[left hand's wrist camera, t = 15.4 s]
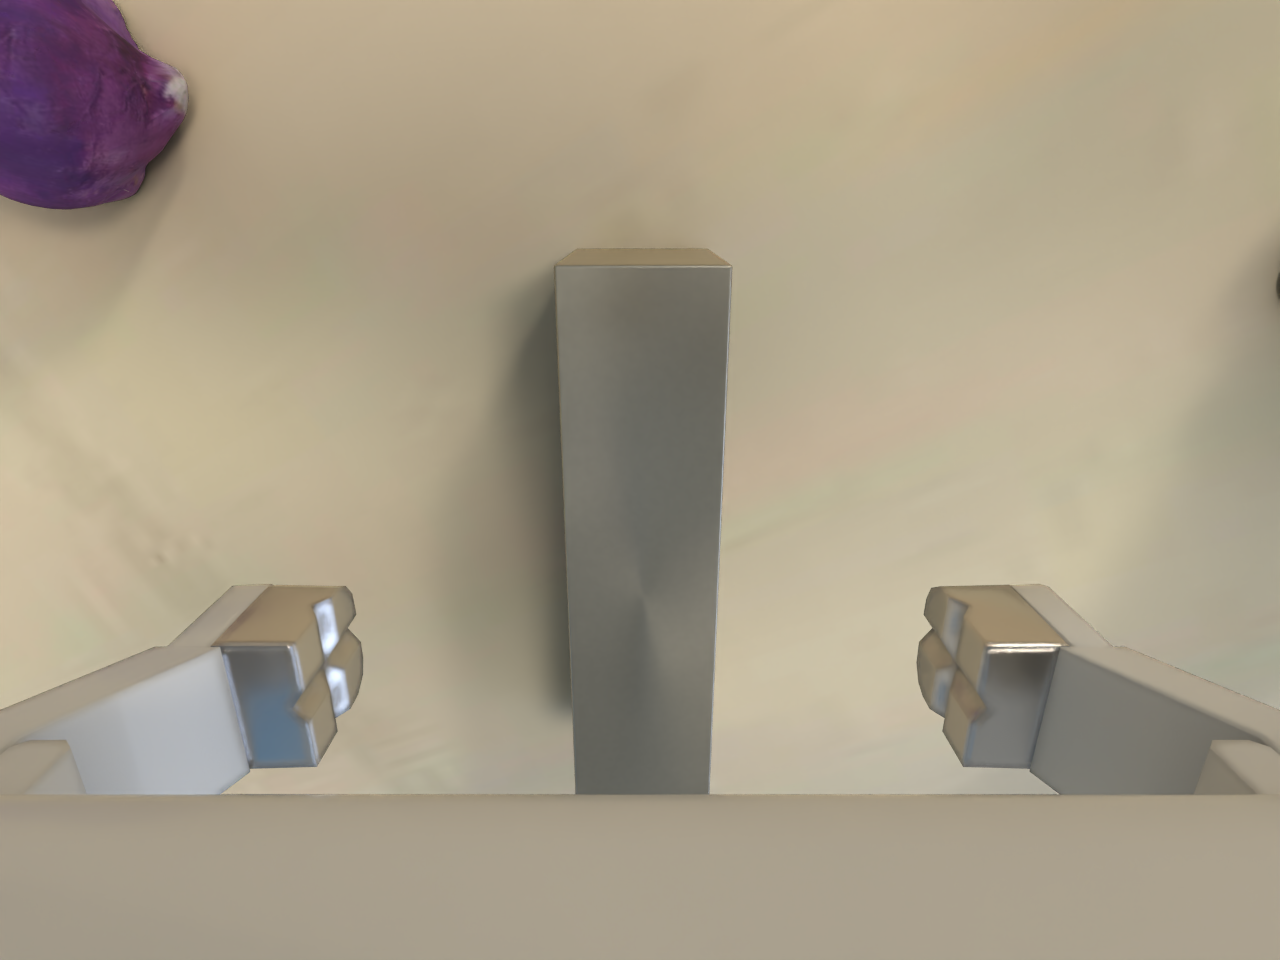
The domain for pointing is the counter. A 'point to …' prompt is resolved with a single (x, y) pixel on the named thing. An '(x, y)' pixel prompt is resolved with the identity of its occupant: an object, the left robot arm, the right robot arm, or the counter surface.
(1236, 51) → the counter surface
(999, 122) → the counter surface
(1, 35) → the figurine
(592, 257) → the box
